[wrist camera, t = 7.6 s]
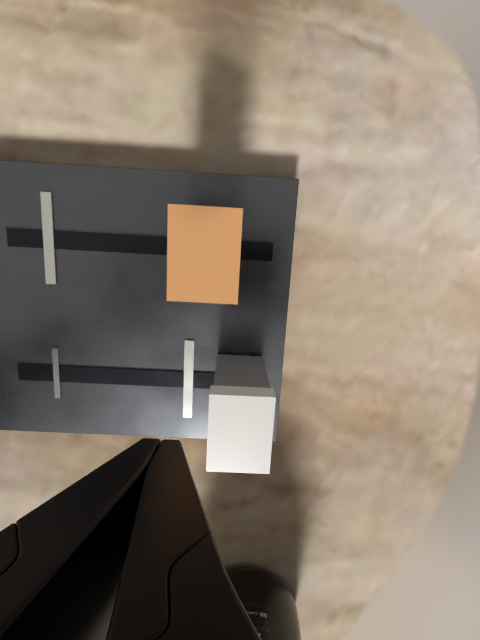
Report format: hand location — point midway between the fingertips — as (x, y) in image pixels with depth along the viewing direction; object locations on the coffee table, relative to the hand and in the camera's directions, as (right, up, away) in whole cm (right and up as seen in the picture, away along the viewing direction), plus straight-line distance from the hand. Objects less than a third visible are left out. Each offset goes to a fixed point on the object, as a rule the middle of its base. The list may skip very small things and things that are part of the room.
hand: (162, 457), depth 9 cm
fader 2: (+2, 0, +12) cm, 12 cm away
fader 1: (0, +7, +10) cm, 12 cm away
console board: (-5, +4, +12) cm, 14 cm away
